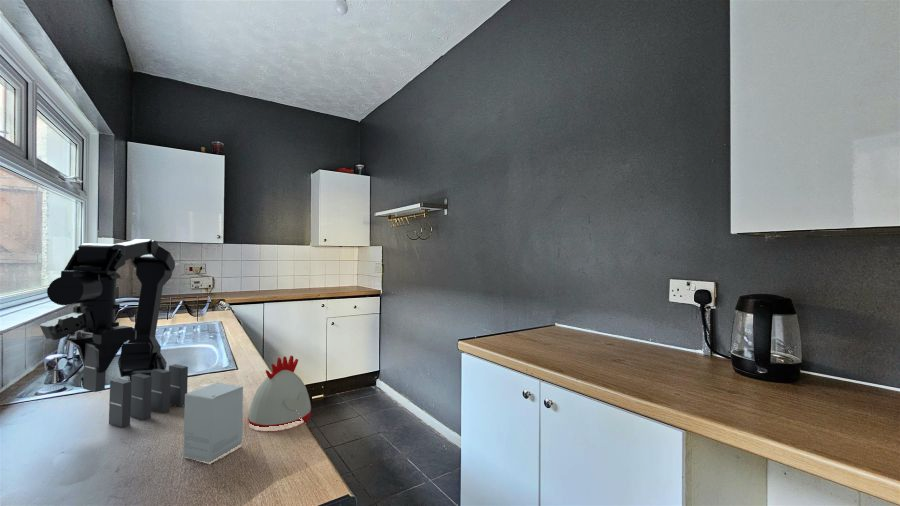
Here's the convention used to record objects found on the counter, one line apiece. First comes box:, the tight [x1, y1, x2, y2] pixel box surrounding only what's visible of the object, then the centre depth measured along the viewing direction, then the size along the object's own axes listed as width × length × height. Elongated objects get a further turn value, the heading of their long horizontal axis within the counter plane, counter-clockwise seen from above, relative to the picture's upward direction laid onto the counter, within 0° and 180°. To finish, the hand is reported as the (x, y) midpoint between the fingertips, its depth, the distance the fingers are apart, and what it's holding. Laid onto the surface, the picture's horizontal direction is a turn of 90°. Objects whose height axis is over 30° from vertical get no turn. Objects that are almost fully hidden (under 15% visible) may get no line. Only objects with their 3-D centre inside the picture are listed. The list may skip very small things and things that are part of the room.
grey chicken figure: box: [247, 355, 312, 427], centre depth 90 cm, size 14×14×15 cm
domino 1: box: [82, 342, 107, 393], centre depth 81 cm, size 2×5×10 cm, turn 67°
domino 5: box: [168, 363, 189, 408], centre depth 96 cm, size 2×5×10 cm, turn 69°
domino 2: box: [108, 377, 132, 429], centre depth 84 cm, size 2×5×10 cm, turn 69°
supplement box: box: [182, 382, 244, 462], centre depth 74 cm, size 7×7×13 cm
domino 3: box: [130, 373, 152, 421], centre depth 88 cm, size 2×5×10 cm, turn 68°
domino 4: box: [151, 369, 171, 414], centre depth 92 cm, size 2×5×10 cm, turn 69°
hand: (95, 370), depth 81 cm, fingers closed on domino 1, 5 cm apart
